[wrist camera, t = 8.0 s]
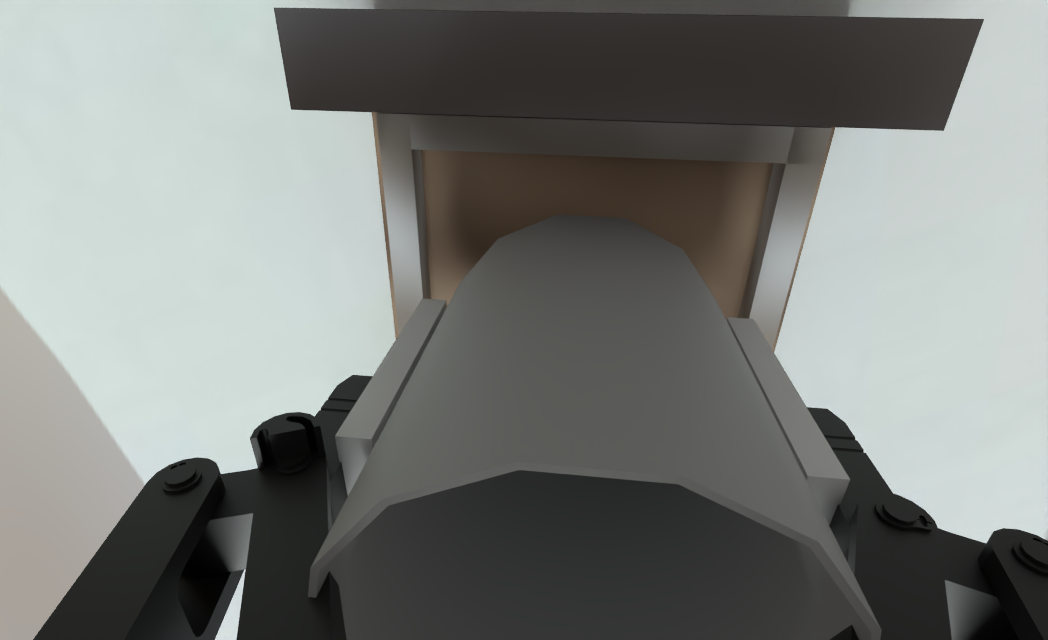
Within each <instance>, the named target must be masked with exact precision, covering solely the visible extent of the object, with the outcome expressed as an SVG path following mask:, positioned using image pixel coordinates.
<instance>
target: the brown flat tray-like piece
mask: <svg viewBox="0 0 1048 640" xmlns="http://www.w3.org/2000/svg"><path fill="white" fill-rule="evenodd" d="M274 12H275V17H276V23H277V29H278V35H279V41H280V47H281V53H282V58H283V64H284V70H285V76H286V82H287V88H288V94H289V99H290V105H291V109H292V110H322V111H353V112H372V118H373V127H374V137H375V146H376V156H377V165H378V175H379V184H380V193H381V203H382V212H383V222H384V231H385V241H386V250H387V260H388V269H389V279H390V288H391V298H392V307H393V316H394V326H395V335H396V339H397V338H398V336H399V335H400V333H401V331H402V330H403V328H404V327H405V325H406V324H407V322H408V320H409V319H410V317H411V316H412V314H413V313H414V311H415V309H416V308H417V306H418V305H419V303H420V302H421V300H422V299H437V300H446V302H447V306H448V304H449V302H450V301H451V299H452V297H453V295H454V293H455V291H456V289H457V287H458V285H459V283H460V282H461V281H462V280H463V278H464V277H465V276H466V275H467V274H468V273H469V272H470V270H471V269H472V268H473V267H474V266H475V265H476V263H477V262H478V261H479V260H480V259H481V258H482V257H483V255H484V254H485V253H486V252H487V251H488V250H489V249H490V247H491V246H492V245H493V244H494V243H495V242H496V240H497V239H499V238H501V237H503V236H506V235H508V234H511V233H513V232H516V231H518V230H521V229H523V228H526V227H528V226H530V225H533V224H535V223H538V222H540V221H543V220H545V219H548V218H550V217H552V216H555V215H557V214H561V215H580V216H599V217H619V218H627V219H628V220H630V221H632V222H634V223H636V224H638V225H639V226H641V227H643V228H645V229H647V230H649V231H650V232H652V233H654V234H656V235H658V236H660V237H661V238H663V239H665V240H667V241H669V242H671V243H672V244H674V245H676V246H678V247H680V248H682V249H683V250H684V252H685V253H686V255H687V256H688V258H689V259H690V261H691V262H692V264H693V265H694V267H695V268H696V270H697V271H698V273H699V275H700V276H701V278H702V279H703V281H704V282H705V284H706V285H707V287H708V288H709V290H710V291H711V293H712V294H713V296H714V297H715V299H716V301H717V303H718V305H719V307H720V309H721V311H722V313H723V315H724V317H725V319H726V320H727V317H730V318H746V319H754V321H755V322H756V324H757V326H758V327H759V329H760V331H761V332H762V334H763V336H764V337H765V339H766V341H767V342H768V344H769V346H770V347H771V349H772V351H773V352H774V351H775V347H776V343H777V340H778V336H779V332H780V329H781V325H782V321H783V318H784V314H785V310H786V307H787V303H788V299H789V296H790V292H791V288H792V284H793V281H794V277H795V273H796V270H797V266H798V262H799V259H800V255H801V251H802V248H803V244H804V240H805V237H806V233H807V229H808V226H809V222H810V218H811V215H812V211H813V207H814V204H815V200H816V196H817V193H818V189H819V185H820V182H821V178H822V174H823V171H824V167H825V163H826V160H827V156H828V152H829V149H830V145H831V141H832V138H833V134H834V130H835V127H848V128H879V129H910V130H941V131H944V128H945V125H946V123H947V120H948V117H949V114H950V112H951V109H952V106H953V103H954V101H955V98H956V95H957V92H958V89H959V87H960V84H961V81H962V78H963V76H964V73H965V70H966V67H967V65H968V62H969V59H970V56H971V54H972V51H973V48H974V45H975V42H976V40H977V37H978V34H979V31H980V29H981V26H982V23H983V20H984V19H944V18H882V17H819V16H757V15H695V14H632V13H570V12H508V11H446V10H383V9H321V8H274Z"/></svg>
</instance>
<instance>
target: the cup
mask: <svg viewBox="0 0 1048 640" xmlns="http://www.w3.org/2000/svg"><path fill="white" fill-rule="evenodd" d="M329 571H330V573H331V574H332V576H333V577H334V579H335V580H336V582H337V583H338V585H339V591H340V597H341V604H342V611H343V618H344V625H345V632H346V639H347V640H830V639H831V638H832V637H834V636H835V635H837V634H838V633H840V632H841V631H843V630H844V629H846V628H847V627H849V626H850V625H853V628H854V630H855V632H856V634H857V636H858V638H859V640H880V639H881V632H882V630H881V628H880V626H879V624H878V622H877V620H876V618H875V616H874V614H873V612H872V610H871V608H870V606H869V604H868V602H867V600H866V598H865V596H864V594H863V592H862V590H861V588H860V586H859V584H858V582H857V580H856V578H855V576H854V574H853V572H852V570H851V568H850V566H849V564H848V562H847V560H846V558H845V556H844V554H843V552H842V550H841V548H840V546H839V544H838V542H837V540H836V538H835V536H834V534H833V532H832V530H831V528H830V526H829V524H828V522H827V520H826V518H825V516H824V514H823V512H822V510H821V508H820V506H819V504H818V503H817V501H816V499H815V497H814V495H813V493H812V491H811V489H810V487H809V485H808V483H807V481H806V479H805V477H804V475H803V473H802V471H801V469H800V467H799V465H798V463H797V461H796V459H795V457H794V455H793V453H792V451H791V449H790V447H789V445H788V443H787V441H786V439H785V437H784V435H783V433H782V431H781V429H780V427H779V425H778V423H777V421H776V419H775V417H774V415H773V413H772V411H771V409H770V407H769V405H768V403H767V401H766V399H765V397H764V395H763V393H762V391H761V389H760V387H759V385H758V383H757V381H756V379H755V377H754V375H753V373H752V371H751V369H750V367H749V365H748V363H747V361H746V359H745V357H744V355H743V353H742V351H741V349H740V347H739V345H738V343H737V341H736V339H735V337H734V335H733V333H732V331H731V329H730V327H729V325H728V323H727V321H726V319H725V317H724V315H723V313H722V311H721V309H720V307H719V305H718V303H717V301H716V299H715V297H714V296H713V294H712V293H711V291H710V290H709V288H708V287H707V285H706V284H705V282H704V281H703V279H702V278H701V276H700V275H699V273H698V271H697V270H696V268H695V267H694V265H693V264H692V262H691V261H690V259H689V258H688V256H687V255H686V253H685V252H684V250H683V249H682V248H680V247H678V246H676V245H674V244H672V243H671V242H669V241H667V240H665V239H663V238H661V237H660V236H658V235H656V234H654V233H652V232H650V231H649V230H647V229H645V228H643V227H641V226H639V225H638V224H636V223H634V222H632V221H630V220H628V219H627V218H619V217H599V216H580V215H561V214H557V215H555V216H552V217H550V218H548V219H545V220H543V221H540V222H538V223H535V224H533V225H530V226H528V227H526V228H523V229H521V230H518V231H516V232H513V233H511V234H508V235H506V236H503V237H501V238H499V239H497V240H496V242H495V243H494V244H493V245H492V246H491V247H490V249H489V250H488V251H487V252H486V253H485V254H484V255H483V257H482V258H481V259H480V260H479V261H478V262H477V263H476V265H475V266H474V267H473V268H472V269H471V270H470V272H469V273H468V274H467V275H466V276H465V277H464V278H463V280H462V281H461V282H460V283H459V285H458V287H457V289H456V291H455V293H454V295H453V297H452V299H451V301H450V302H449V304H448V306H447V308H446V310H445V312H444V314H443V316H442V318H441V320H440V322H439V323H438V325H437V327H436V329H435V331H434V333H433V335H432V337H431V339H430V341H429V343H428V344H427V346H426V348H425V350H424V352H423V354H422V356H421V358H420V360H419V362H418V364H417V365H416V367H415V369H414V371H413V373H412V375H411V377H410V379H409V381H408V383H407V385H406V386H405V388H404V390H403V392H402V394H401V396H400V398H399V400H398V402H397V404H396V406H395V408H394V409H393V411H392V413H391V415H390V417H389V419H388V421H387V423H386V425H385V427H384V429H383V430H382V432H381V434H380V436H379V438H378V440H377V442H376V444H375V446H374V448H373V450H372V451H371V453H370V455H369V457H368V459H367V461H366V463H365V465H364V467H363V469H362V471H361V472H360V474H359V476H358V478H357V480H356V482H355V484H354V486H353V488H352V490H351V492H350V493H349V495H348V497H347V499H346V501H345V503H344V505H343V507H342V509H341V511H340V513H339V514H338V516H337V518H336V520H335V522H334V524H333V526H332V528H331V530H330V532H329V534H328V535H327V537H326V539H325V541H324V543H323V545H322V547H321V549H320V551H319V553H318V555H317V557H316V558H315V560H314V562H313V564H312V566H311V568H310V579H309V590H308V597H314V598H316V597H317V595H318V593H319V591H320V589H321V587H322V585H323V583H324V581H325V579H326V577H327V575H328V572H329Z"/></svg>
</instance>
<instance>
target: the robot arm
mask: <svg viewBox="0 0 1048 640" xmlns="http://www.w3.org/2000/svg"><path fill="white" fill-rule="evenodd" d="M446 308H447V302H446V300H437V299H422V300H421V302H420V303H419V305H418V306H417V308H416V309H415V311H414V313H413V314H412V316H411V317H410V319H409V320H408V322H407V324H406V325H405V327H404V328H403V330H402V331H401V333H400V335H399V336H398V338H397V339H396V341H395V342H394V344H393V346H392V347H391V349H390V350H389V352H388V353H387V355H386V357H385V358H384V360H383V361H382V363H381V364H380V366H379V368H378V369H377V371H376V372H375V374H374V375H373V376H360V375H352V376H351V377H349V378H348V379H346V380H345V381H343V382H342V383H340V384H339V385H337V387H336V388H335V389H334V391H333V392H332V394H331V395H330V396H329V398H328V400H327V401H326V402H325V403H324V405H323V406H322V407H321V411H319V412H318V413H317V414H316V416H315V417H314V416H312V415H311V414H306V413H301V412H296V413H286V414H282V415H278V416H275V417H273V418H271V419H269V420H267V421H265V422H263V423H262V424H261V425H260V426H258V427H257V428H256V429H255V430H254V432H253V434H252V436H251V438H250V440H251V444H252V448H253V451H254V455H255V458H256V462H257V465H258V468H257V469H252V470H246V471H240V472H233V473H226V474H220V471H219V468H218V466H217V464H216V463H215V462H214V461H212V460H210V459H207V458H192V459H185V460H182V461H179V462H176V463H174V464H171V465H169V466H167V467H165V468H164V469H162V470H160V471H159V472H157V473H156V474H155V475H154V476H153V477H152V478H151V479H150V480H149V481H148V482H147V483H146V485H145V486H144V488H143V489H142V490H141V492H140V493H139V494H138V496H137V497H136V499H135V500H134V501H133V503H132V504H131V505H130V507H129V508H128V510H127V511H126V512H125V514H124V515H123V516H122V518H121V519H120V521H119V522H118V523H117V525H116V526H115V528H114V529H113V530H112V532H111V533H110V534H109V536H108V537H107V539H106V540H105V541H104V543H103V544H102V545H101V547H100V548H99V550H98V551H97V552H96V554H95V555H94V557H93V558H92V559H91V561H90V562H89V563H88V565H87V566H86V567H85V569H84V571H83V572H82V573H81V575H80V576H79V577H78V579H77V580H76V582H75V583H74V584H73V586H72V587H71V588H70V590H69V591H68V592H67V594H66V595H65V596H64V598H63V599H62V601H61V602H60V603H59V605H58V606H57V607H56V609H55V610H54V612H53V613H52V614H51V616H50V617H49V619H48V620H47V621H46V623H45V624H44V625H43V627H42V628H41V630H40V631H39V632H38V634H37V635H36V636H35V638H34V639H33V640H215V637H216V635H217V633H218V630H219V628H220V626H221V623H222V621H223V619H224V616H225V614H226V611H227V609H228V607H229V604H230V602H231V600H232V597H233V595H234V593H235V590H236V588H237V585H238V583H239V581H240V578H241V576H242V574H243V571H244V569H246V572H245V580H244V587H243V595H242V603H241V610H240V618H239V626H238V633H237V640H347V639H346V632H345V625H344V618H343V611H342V604H341V597H340V591H339V585H338V583H337V582H336V580H335V579H334V577H333V576H332V574H331V573H330V571H329V572H328V575H327V577H326V579H325V581H324V583H323V585H322V587H321V589H320V591H319V593H318V595H317V597H316V598H314V597H308V590H309V579H310V568H311V566H312V564H313V562H314V560H315V558H316V557H317V555H318V553H319V551H320V549H321V547H322V545H323V543H324V541H325V539H326V537H327V535H328V534H329V532H330V530H331V528H332V526H333V524H334V522H335V520H336V518H337V516H338V514H339V513H340V511H341V509H342V507H343V505H344V503H345V501H346V499H347V497H348V495H349V493H350V492H351V490H352V488H353V486H354V484H355V482H356V480H357V478H358V476H359V474H360V472H361V471H362V469H363V467H364V465H365V463H366V461H367V459H368V457H369V455H370V453H371V451H372V450H373V448H374V446H375V444H376V442H377V440H378V438H379V436H380V434H381V432H382V430H383V429H384V427H385V425H386V423H387V421H388V419H389V417H390V415H391V413H392V411H393V409H394V408H395V406H396V404H397V402H398V400H399V398H400V396H401V394H402V392H403V390H404V388H405V386H406V385H407V383H408V381H409V379H410V377H411V375H412V373H413V371H414V369H415V367H416V365H417V364H418V362H419V360H420V358H421V356H422V354H423V352H424V350H425V348H426V346H427V344H428V343H429V341H430V339H431V337H432V335H433V333H434V331H435V329H436V327H437V325H438V323H439V322H440V320H441V318H442V316H443V314H444V312H445V310H446ZM726 321H727V323H728V325H729V327H730V329H731V331H732V333H733V335H734V337H735V339H736V341H737V343H738V345H739V347H740V349H741V351H742V353H743V355H744V357H745V359H746V361H747V363H748V365H749V367H750V369H751V371H752V373H753V375H754V377H755V379H756V381H757V383H758V385H759V387H760V389H761V391H762V393H763V395H764V397H765V399H766V401H767V403H768V405H769V407H770V409H771V411H772V413H773V415H774V417H775V419H776V421H777V423H778V425H779V427H780V429H781V431H782V433H783V435H784V437H785V439H786V441H787V443H788V445H789V447H790V449H791V451H792V453H793V455H794V457H795V459H796V461H797V463H798V465H799V467H800V469H801V471H802V473H803V475H804V477H805V479H806V481H807V483H808V485H809V487H810V489H811V491H812V493H813V495H814V497H815V499H816V501H817V503H818V504H819V506H820V508H821V510H822V512H823V514H824V516H825V518H826V520H827V522H828V524H829V526H830V528H831V530H832V532H833V534H834V536H835V538H836V540H837V542H838V544H839V546H840V548H841V550H842V552H843V554H844V556H845V558H846V560H847V562H848V564H849V566H850V568H851V570H852V572H853V574H854V576H855V578H856V580H857V582H858V584H859V586H860V588H861V590H862V592H863V594H864V596H865V598H866V600H867V602H868V604H869V606H870V608H871V610H872V612H873V614H874V616H875V618H876V620H877V622H878V624H879V626H880V628H881V630H882V632H881V639H880V640H1048V541H1047V540H1045V539H1043V538H1041V537H1039V536H1037V535H1034V534H1031V533H1028V532H1024V531H1021V530H1017V529H1005V528H1003V529H1000V530H997V531H994V532H993V533H992V535H991V537H990V538H989V540H988V542H987V543H982V542H979V541H976V540H973V539H969V538H966V537H963V536H959V535H956V534H953V533H950V532H947V531H944V530H941V529H939V528H937V525H936V523H935V521H934V520H933V519H932V517H931V516H930V515H929V514H928V513H927V512H926V511H925V510H924V509H922V508H921V507H919V506H918V505H916V504H915V503H913V502H912V501H910V500H908V499H905V498H903V497H901V496H899V495H896V494H893V493H892V491H891V490H890V488H889V487H888V485H887V484H886V482H885V481H884V479H883V478H882V476H881V475H880V473H879V472H878V471H877V469H876V468H875V466H874V465H873V463H872V462H871V460H870V459H869V457H868V456H867V454H866V453H864V452H863V448H862V447H861V445H860V444H859V443H858V441H856V440H855V437H854V435H853V434H852V432H851V431H850V429H849V428H848V426H847V425H846V423H845V422H844V421H842V420H841V419H840V418H838V417H837V416H836V415H835V414H833V413H832V412H831V411H829V410H828V409H822V408H808V407H806V405H805V404H804V402H803V400H802V399H801V397H800V395H799V394H798V392H797V390H796V389H795V387H794V385H793V384H792V382H791V381H790V379H789V377H788V376H787V374H786V372H785V371H784V369H783V367H782V366H781V364H780V362H779V361H778V359H777V357H776V356H775V354H774V352H773V351H772V349H771V347H770V346H769V344H768V342H767V341H766V339H765V337H764V336H763V334H762V332H761V331H760V329H759V327H758V326H757V324H756V322H755V321H754V319H746V318H730V317H727V320H726ZM830 640H859V638H858V636H857V634H856V632H855V630H854V628H853V625H850V626H849V627H847V628H846V629H844V630H843V631H841V632H840V633H838V634H837V635H835V636H834V637H832V638H831V639H830Z"/></svg>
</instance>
